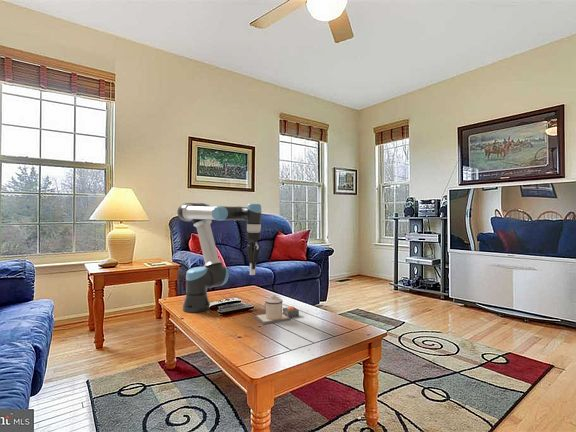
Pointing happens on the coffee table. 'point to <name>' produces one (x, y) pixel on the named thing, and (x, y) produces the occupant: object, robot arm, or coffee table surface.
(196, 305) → the robot arm
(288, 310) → the button
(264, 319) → the board
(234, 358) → the coffee table surface
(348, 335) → the coffee table surface
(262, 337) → the coffee table surface
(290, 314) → the button housing
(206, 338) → the coffee table surface
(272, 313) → the teacup with lid
